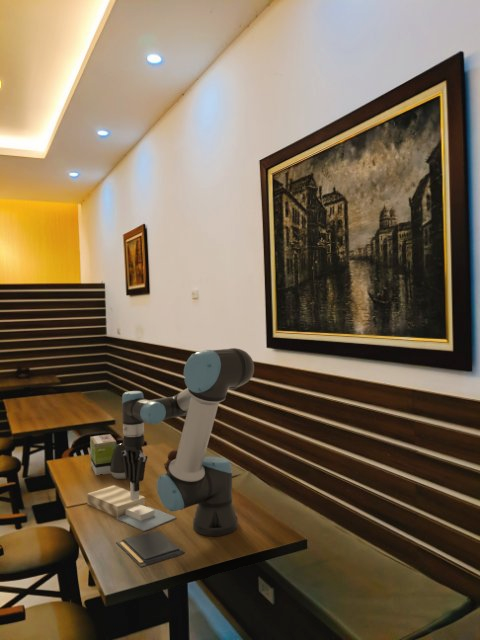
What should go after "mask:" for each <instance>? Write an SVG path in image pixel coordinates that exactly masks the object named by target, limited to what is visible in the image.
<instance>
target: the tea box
mask: <svg viewBox="0 0 480 640" xmlns="http://www.w3.org/2000/svg"><path fill="white" fill-rule="evenodd" d="M89 439H90V441H89V444H90V446H89V448H90V467H91V468H92V470H93V472H94V474H95V476H101V475H100V474H103V475H107V474H106V473H109V474H112V473H111V471H110V464H111V459H112V455H113V452H114V449H115V447H116V446H117V445H118V444H117V441H116V439H115V438H114V437H113V436H112V434H110V433H109V434H101V435H94V436H90V437H89Z"/></svg>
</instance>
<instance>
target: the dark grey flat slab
mask: <svg viewBox="0 0 480 640" xmlns="http://www.w3.org/2000/svg"><path fill="white" fill-rule="evenodd" d="M115 544H116V545H117V546H118V547H119V548H121V550H123V552H124V553H125V554H127V556H129V557H130V559H131V560H132V561H133V562H135V563H136V565H138V566H139V568H141V569H142V568H144V567H148V566H152V565H155V564H158V563H162V562H164V561H168V560H171V559H175V558H177V557H181V556H183V555H185V554H186V552H185V551H184V550H183V549H182V548H180V546H178V545H177V544H175V543H174V542H173V541H172V540H170V539H169V537H167V536H165V535H164V534H163V533H162V531H159V530H152V531H148V532H145V533H144V532H143V533H142V534H139V535H134V536H131V537H127V538H123V539H121V540H119V541H116V542H115Z"/></svg>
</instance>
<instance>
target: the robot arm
mask: <svg viewBox="0 0 480 640" xmlns="http://www.w3.org/2000/svg"><path fill="white" fill-rule="evenodd" d="M254 371H255V364H254V361H253V358H252V357H251V355H250V354H249V353H248V352H247V351H245V350H244V349H240V348H237V347H234V348H233V347H232V348H226V349H225V348H224V349H223V348H222V349H205V350H202V351H196V352H195V353H192V354H191V355H190V356H189V357H188V359H187V361H186V362H185V365H184V368H183V377H185V378H184V380H183V381H184V383H185V386H186V388H185V389H183V390H182V391H181V392H178V393H177V394H175V395H174V396H167V397H161V398H155V399H145V397H144V393H143V392H142V391H140V390H132V391H125V392H124V393H122V396H121V398H122V401H121V411H122V412H121V413H122V434H123V436H122V443H123V446H124V447H125V450H124V451H122V452H121V455H122V458H123V464H124V470H125V476H126V479H128V481H129V491H130V497H131V500H132V501H134V500H137V499H139V495H140V482H142V481H144V476H145V471H146V470H145V469H146V463H147V461H148V456H147V455H145V454H144V453H143V452H144V450H143V446H144V444H145V423H146V424H149V425H153V424H154V425H158V424H160V423H162V422H163V421H165V420H168V419H173V418H178V417H179V418H180V417H185V421H184V424H183V429H182V432H181V436H180V440H179V444H178V448H177V451H178V452H177V456H176V459H174V460H173V461H171V462H170V464H169V468H168V472H167V471H166V473H165V474H164V473H163V474H161V475H160V476H158V478H157V480H156V492H157V495H158V497H159V500H160V502H161V503H162V505H163V506H164V508H166V509H167V510H168V511H169V512H177V511H182V510H184V509H186V508H189V507H194V506H196V505H197V507H196V511H195V515H194V516H193V520H192V529H193V531H194V532H196V533H197V534H199V535H201V536H209V537H220V536H226V535H229V534H232V533H233V532H235V531H237V529H238V527H239V525H238V524H239V523H238V522H239V521H238V520H239V519H238V516H237V515H236V511H235V507H234V505H233V471H232V463H231V461H230V460H229V459H226V458H225V457H218V456H205V455H206V452H207V450H208V445H209V440H210V438H211V434H212V431H213V426H214V423H215V419H216V415H217V412H218V407H219V403H221V402H223V401H225V400H226V397H227V394H228V391H229V390H235V389H238V388H239V387H241V386H243V385H245V384H247V383H249V381H251V379H252V378H253V376H254V373H255V372H254Z"/></svg>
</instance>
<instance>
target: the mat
mask: <svg viewBox="0 0 480 640" xmlns="http://www.w3.org/2000/svg"><path fill="white" fill-rule="evenodd" d="M146 507H148V508H151V509H153V510H154V516H152V517H150V518H147V519H144V520H142V521H140V520H137V519H135V518H133V517H131V516H128V515H123V516H120V517H118V518H117V517H115V518H116V520H118V521H120V522H122V523H124V524H127V525H128V526H131V527H133V528H135V529H137V530H140V531H142V532H143V533H144V532H145V533H146V532H147V531H150V530H152V529H155V528H157V527H159V526H162V525H163V524H164V525H165V524H167V523H169V522H171V521H174V520H176V519H177V517H176V516H174V515H172V514H169V513H167V512H164V511H162V510H159V509H156V508H154V507H151V506H146Z"/></svg>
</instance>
